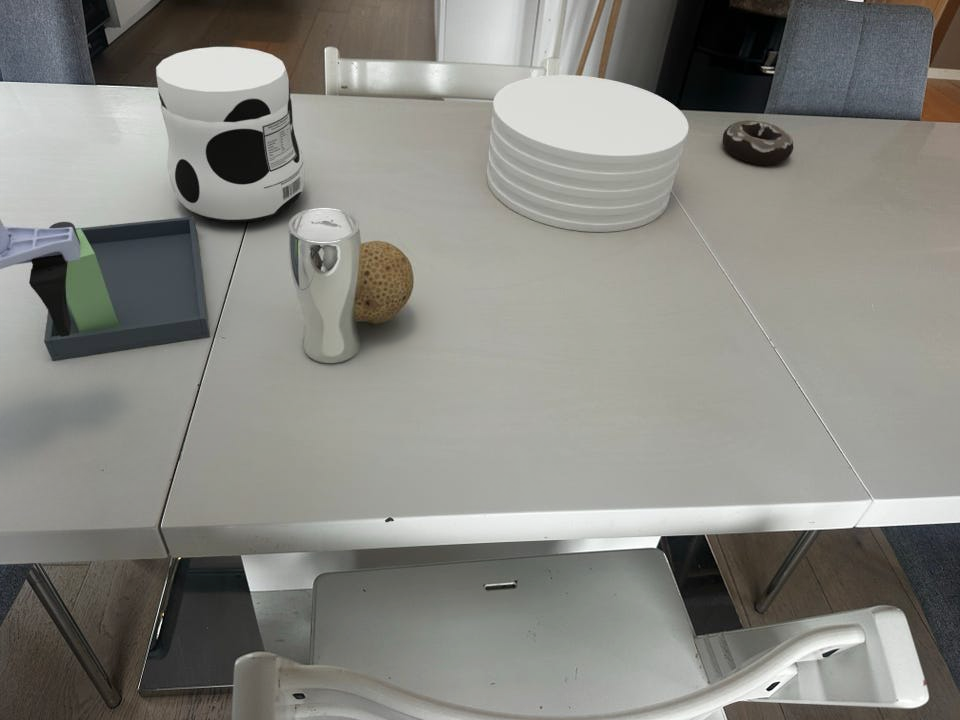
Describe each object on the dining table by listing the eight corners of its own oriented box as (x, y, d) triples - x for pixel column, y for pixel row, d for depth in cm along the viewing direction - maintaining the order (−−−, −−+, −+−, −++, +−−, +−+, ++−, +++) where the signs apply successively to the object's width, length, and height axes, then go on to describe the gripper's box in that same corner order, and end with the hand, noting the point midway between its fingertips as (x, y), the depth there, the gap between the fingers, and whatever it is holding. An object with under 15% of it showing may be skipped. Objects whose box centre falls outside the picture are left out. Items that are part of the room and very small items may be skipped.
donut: (800, 168, 120) (810, 146, 117) (736, 168, 118) (744, 146, 115) (769, 138, 128) (777, 117, 125) (709, 138, 126) (715, 116, 123)
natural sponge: (371, 358, 76) (369, 281, 69) (314, 322, 79) (307, 246, 73) (427, 321, 81) (431, 246, 75) (372, 289, 85) (370, 215, 79)
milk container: (179, 173, 102) (151, 43, 90) (303, 168, 106) (291, 43, 94) (172, 238, 90) (138, 97, 78) (312, 229, 94) (299, 94, 82)
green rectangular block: (85, 344, 73) (46, 245, 65) (72, 317, 76) (34, 219, 68) (121, 333, 75) (88, 235, 67) (107, 307, 78) (74, 210, 70)
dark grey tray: (52, 360, 72) (43, 341, 70) (65, 248, 86) (58, 230, 85) (210, 337, 76) (205, 318, 75) (197, 234, 91) (193, 216, 89)
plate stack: (699, 187, 112) (721, 116, 104) (605, 255, 95) (623, 176, 87) (555, 129, 124) (565, 61, 116) (448, 180, 107) (452, 105, 99)
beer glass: (338, 317, 81) (332, 198, 71) (377, 348, 77) (376, 228, 67) (286, 342, 77) (271, 220, 67) (324, 376, 73) (315, 252, 63)
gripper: (-199, 243, 46) (-92, 387, 56) (47, 211, 50) (108, 351, 60) (-169, 189, 51) (-75, 330, 60) (54, 163, 55) (109, 300, 64)
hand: (16, 337), depth 60 cm, fingers open, 7 cm apart
